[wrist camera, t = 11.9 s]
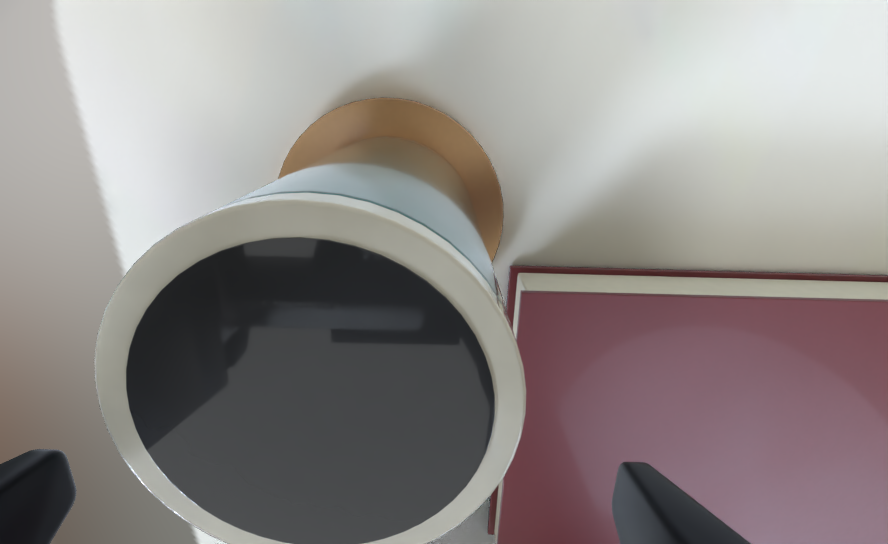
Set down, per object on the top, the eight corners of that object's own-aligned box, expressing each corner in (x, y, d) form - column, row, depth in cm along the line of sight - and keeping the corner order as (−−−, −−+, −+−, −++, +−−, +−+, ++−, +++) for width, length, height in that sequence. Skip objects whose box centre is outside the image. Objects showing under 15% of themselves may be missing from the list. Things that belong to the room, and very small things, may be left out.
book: (874, 536, 25) (928, 590, 23) (487, 530, 25) (493, 585, 22) (994, 278, 20) (1084, 306, 17) (509, 265, 20) (521, 292, 17)
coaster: (532, 269, 20) (535, 274, 19) (343, 344, 21) (341, 351, 20) (449, 56, 17) (450, 54, 16) (236, 156, 18) (229, 158, 18)
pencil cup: (471, 529, 16) (589, 644, 4) (278, 526, 16) (-160, 637, 4) (468, 207, 22) (516, -136, 10) (325, 203, 21) (196, -151, 10)
